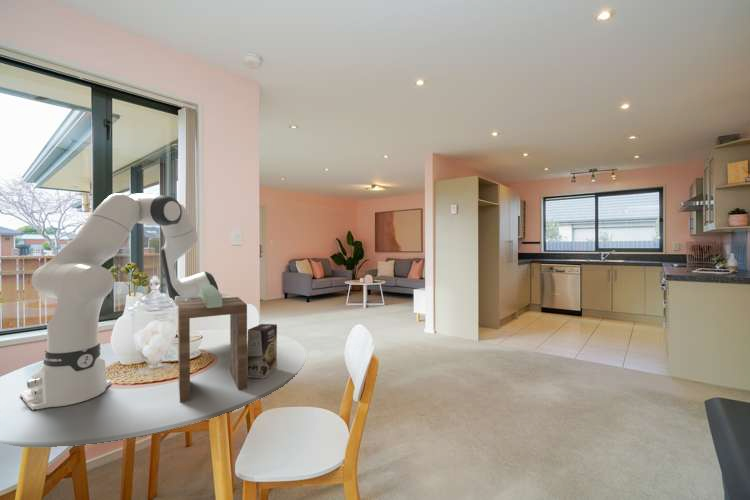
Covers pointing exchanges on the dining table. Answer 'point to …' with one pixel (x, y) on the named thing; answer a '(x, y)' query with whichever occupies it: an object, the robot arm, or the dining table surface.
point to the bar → (211, 296)
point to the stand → (237, 339)
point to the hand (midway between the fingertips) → (202, 300)
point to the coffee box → (262, 350)
